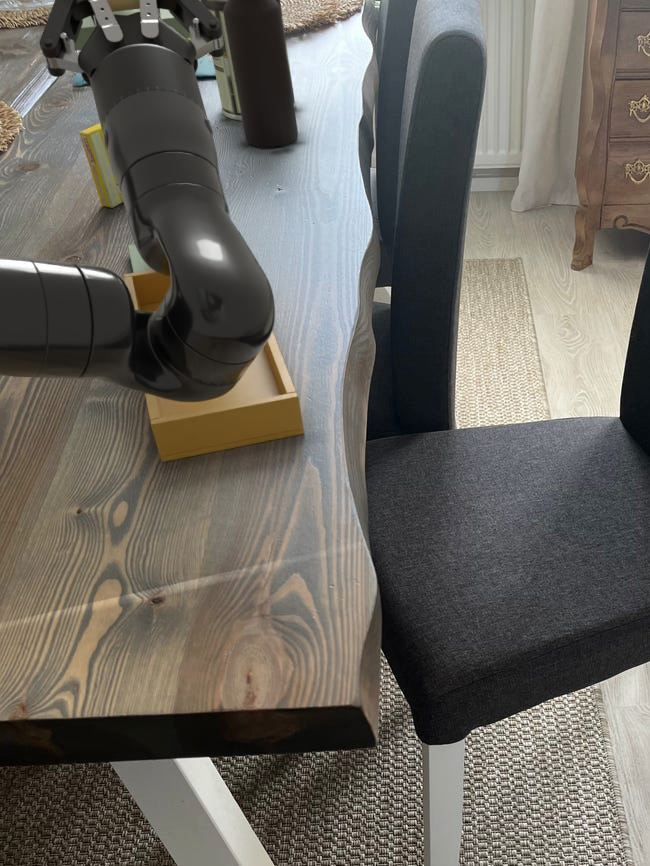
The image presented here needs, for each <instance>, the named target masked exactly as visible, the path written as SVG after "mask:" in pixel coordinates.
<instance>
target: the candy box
mask: <svg viewBox="0 0 650 866" xmlns="http://www.w3.org/2000/svg"><path fill="white" fill-rule="evenodd" d="M79 136H80V139H81V143H82V146H83V149H84V152H85V156H86V160H87V162H88V165H89V168H90V172H91V175H92V178H93V181H94V185H95V188H96V191H97V195H98V198H99V201H100V204H101V206H103V207H107V208H110V209H113V208H115V207H117V206H119V205H121V204H122V203H123V204H124V202H123V198H122V194H121V190H120V188H119V185H118V183H117V181H116V178H115V176H114V173H113V170H112V167H111V164H110V160H109V156H108V152H107V150H106V147H105V145H104V140H103V132H102V128H101V124H100V122H99V123H97V124H94V125H92V126H90V127H88V128H85V129H83V130H81V131H79Z"/></svg>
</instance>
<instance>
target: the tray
mask: <svg viewBox="0 0 650 866" xmlns="http://www.w3.org/2000/svg"><path fill="white" fill-rule="evenodd" d="M122 276H123V281H124V282H125V284H126V285H127V287H128V289H129V291H130V293H131V296H132V299H133V303H134V308H135V310H139V311H157V310H158V308H159V306H160V304H161V302H162V300H163V298H164V297H165V295H166V293H167V291H168V289H169V287H170V284H171V278H170V277H167V276H164V275H161V274H159V273H157V272H155V271H154V270H147V271H141V272H135V273H133V272H130V273H123V274H122ZM144 396H145V401H146V402H145V403H146V407H147V412H148V418H149V423H150V427H151V431H152V433H153V438H154V440H155V444H156V448H157V451H158V454H159V458H160V461H161V463H164V462H166V463H167V462H171V461H176V460H180V459H184V458H190V457H195V456H199V455H205V454H211V453H215V452H220V451H225V450H229V449H234V448H240V447H245V446H250V445H254V444H259V443H264V442H265V443H266V442H270V441H275V440H280V439H284V438H289V437H294V436H300V435H305V429H304V422H303V415H302V411H301V403H300V397H299V395H298V392H297V389H296V387H295V385H294V382H293V379H292V377H291V374H290V372H289V369H288V367H287V364H286V361H285V358H284V356H283V354H282V351H281V348H280V346H279V343H278V341H277V338H276V336H275V333H274V330H273V331H272V333H271V336H270V338H269V340H268V341H267V343H266V344H265V346H264V347H263V348H262V350H261V351H260V353H259V354H258V355H257V357H256V358H255V360H254V361H253V362H252V364H251V365H250V366H249V368H248V369H247V371H246V372H245V374H244V375H243V376H242V378H241V379H240V381H239V382H238V383H237V385H236V386H235V387H234V388H233V389H232V390H230V391H229V392H228V393H226V394H225V395H223V396H221V397H218V398H215V399H212V400H207V401H201V402H179V401H173V400H168V399H164V398H161V397H157V396H153V395H150V394H146V393H144Z"/></svg>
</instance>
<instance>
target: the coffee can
mask: <svg viewBox="0 0 650 866" xmlns="http://www.w3.org/2000/svg"><path fill="white" fill-rule="evenodd" d="M200 1H201V2H202V3H203V4H204V5H205V6H206V7H207V8H208V10H209V11H210V12H211V13H212V14H213V15H214V16H215V17H216V18H217V19H218V20H219V21H220V22H221V27H222V33H223V41H224V55H223V56H221V57H213V56H211V58H213V64H214V69H215V74H216V76H215V78H216V83H217V89H218V94H219V99H220V105H221V113H222V114H223V115H224V117H227V118H229V119H231V120H236V121H241V122H243V121H242V115H241V110H240V104H239V98H238V93H237V87H236V82H235V76H234V70H233V65H232V59H231V54H230V48H229V42H228V37H227V31H226V26H225V20H224V14H223V9H224V6H225V4H226V2H227V1H228V0H200ZM276 1H277V2H278V4H279V6H280V10H281V17H282V24H283V31H284V38H285V45H286V52H287V59H288V66H289V73H290V80H291V87H292V94H293V101H294V108H295V109H296V108H297V103H296V100H295V92H294V87H293V80H292V73H291V68H290V67H291V65H290V60H289V53H288V46H287V38H286V31H285V24H284V17H283V9H282V4H281V3H282V2H281V0H276Z"/></svg>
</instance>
